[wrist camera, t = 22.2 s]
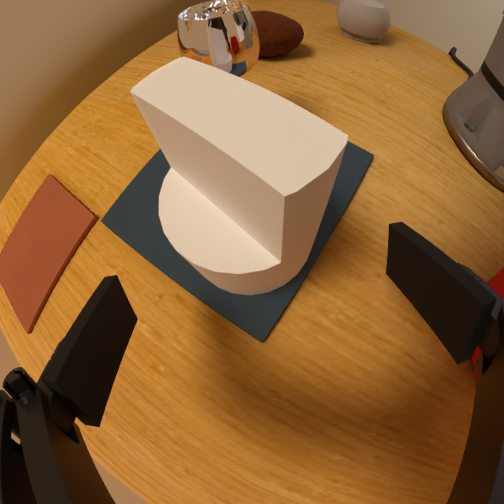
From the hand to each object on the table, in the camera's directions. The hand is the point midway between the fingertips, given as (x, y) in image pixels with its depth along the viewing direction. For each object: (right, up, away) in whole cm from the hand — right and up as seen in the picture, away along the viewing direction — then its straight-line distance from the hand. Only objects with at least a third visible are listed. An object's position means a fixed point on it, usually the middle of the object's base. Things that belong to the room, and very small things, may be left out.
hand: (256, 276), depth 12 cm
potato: (+2, +27, +16) cm, 32 cm away
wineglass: (-2, +13, +11) cm, 17 cm away
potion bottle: (+17, +36, +18) cm, 44 cm away
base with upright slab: (0, +2, +8) cm, 8 cm away
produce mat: (-23, +2, +10) cm, 25 cm away
